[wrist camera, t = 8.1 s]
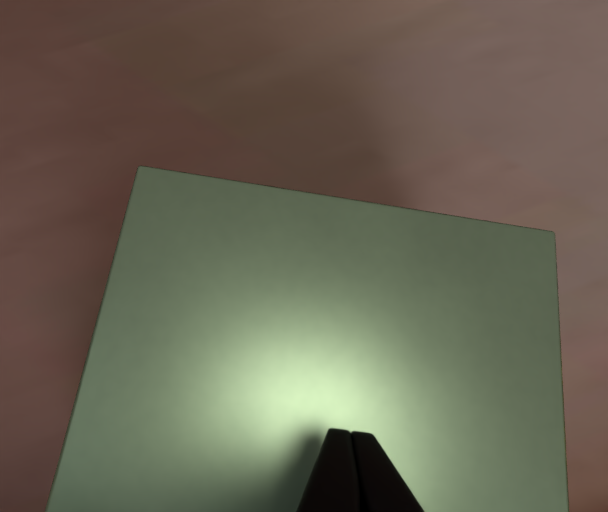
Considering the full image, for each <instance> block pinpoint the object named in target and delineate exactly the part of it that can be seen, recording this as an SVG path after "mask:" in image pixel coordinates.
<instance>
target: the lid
mask: <svg viewBox="0 0 608 512" xmlns="http://www.w3.org/2000/svg"><path fill="white" fill-rule="evenodd" d="M329 428H337V429H345V430H348V431H349V432H350V433H351V432H352V431H360V432H368V433H372V434H373V435H374V436H375V437H376V439H377V440H378V442H379V443H380V445H381V446H382V448H383V449H384V451H385V452H386V454H387V455H388V457H389V458H390V460H391V461H392V463H393V465H394V466H395V468H396V469H397V471H398V472H399V474H400V475H401V477H402V478H403V480H404V481H405V483H406V484H407V486H408V487H409V489H410V490H411V492H412V493H413V495H414V496H415V498H416V499H417V501H418V502H419V504H420V505H421V507H422V508H423V510H424V511H425V512H569V500H568V480H567V461H566V441H565V421H564V401H563V381H562V361H561V341H560V321H559V301H558V282H557V262H556V242H555V233H554V232H553V231H547V230H540V229H534V228H528V227H522V226H516V225H509V224H503V223H497V222H491V221H484V220H478V219H472V218H466V217H459V216H453V215H447V214H441V213H434V212H428V211H422V210H416V209H409V208H403V207H397V206H391V205H384V204H378V203H372V202H366V201H359V200H353V199H347V198H341V197H334V196H328V195H322V194H316V193H309V192H303V191H297V190H291V189H284V188H278V187H272V186H266V185H259V184H253V183H247V182H241V181H234V180H228V179H222V178H216V177H209V176H203V175H197V174H191V173H184V172H178V171H172V170H166V169H159V168H153V167H147V166H139V167H138V168H137V172H136V175H135V179H134V183H133V187H132V190H131V194H130V198H129V201H128V205H127V209H126V212H125V216H124V220H123V224H122V227H121V231H120V235H119V238H118V242H117V246H116V249H115V253H114V257H113V261H112V264H111V268H110V272H109V275H108V279H107V283H106V287H105V290H104V294H103V298H102V301H101V305H100V309H99V312H98V316H97V320H96V324H95V327H94V331H93V335H92V338H91V342H90V346H89V349H88V353H87V357H86V361H85V364H84V368H83V372H82V375H81V379H80V383H79V387H78V390H77V394H76V398H75V401H74V405H73V409H72V412H71V416H70V420H69V424H68V427H67V431H66V435H65V438H64V442H63V446H62V449H61V453H60V457H59V461H58V464H57V468H56V472H55V475H54V479H53V483H52V487H51V490H50V494H49V498H48V501H47V505H46V509H45V512H296V510H297V508H298V505H299V502H300V500H301V497H302V495H303V492H304V490H305V487H306V484H307V482H308V479H309V477H310V474H311V472H312V469H313V467H314V464H315V461H316V459H317V456H318V454H319V451H320V449H321V446H322V444H323V441H324V438H325V436H326V433H327V431H328V429H329Z"/></svg>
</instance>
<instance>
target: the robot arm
mask: <svg viewBox="0 0 608 512" xmlns="http://www.w3.org/2000/svg"><path fill="white" fill-rule="evenodd" d="M296 512H425V511H424V510H423V508H422V507H421V505H420V504H419V502H418V501H417V499H416V498H415V496H414V495H413V493H412V492H411V490H410V489H409V487H408V486H407V484H406V483H405V481H404V480H403V478H402V477H401V475H400V474H399V472H398V471H397V469H396V468H395V466H394V465H393V463H392V461H391V460H390V458H389V457H388V455H387V454H386V452H385V451H384V449H383V448H382V446H381V445H380V443H379V442H378V440H377V439H376V437H375V436H374V435H373V434H372V433H368V432H360V431H352V432H351V433H350V432H349V431H348V430H345V429H337V428H329V429H328V431H327V433H326V436H325V438H324V441H323V444H322V446H321V449H320V451H319V454H318V456H317V459H316V461H315V464H314V467H313V469H312V472H311V474H310V477H309V479H308V482H307V484H306V487H305V490H304V492H303V495H302V497H301V500H300V502H299V505H298V508H297V510H296Z"/></svg>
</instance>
